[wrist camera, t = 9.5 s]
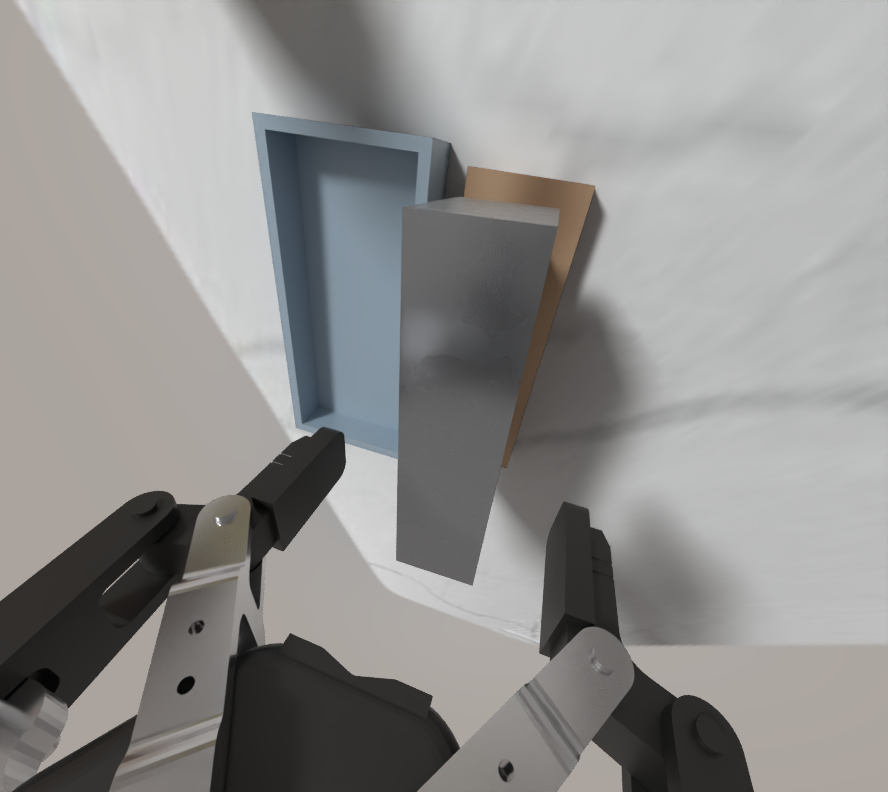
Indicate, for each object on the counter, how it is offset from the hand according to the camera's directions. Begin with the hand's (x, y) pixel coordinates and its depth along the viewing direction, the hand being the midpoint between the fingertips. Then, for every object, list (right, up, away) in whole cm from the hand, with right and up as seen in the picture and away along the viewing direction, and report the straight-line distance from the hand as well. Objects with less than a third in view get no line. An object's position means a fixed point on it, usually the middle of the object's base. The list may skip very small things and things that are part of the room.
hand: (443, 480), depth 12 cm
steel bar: (+2, +4, +6) cm, 7 cm away
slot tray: (-5, +9, +12) cm, 16 cm away
